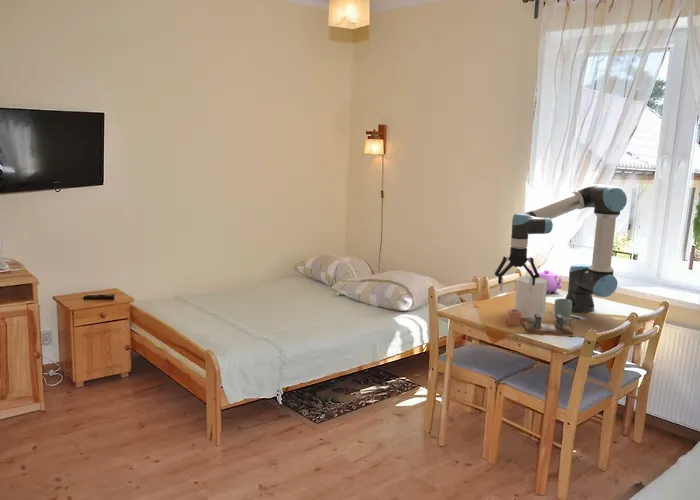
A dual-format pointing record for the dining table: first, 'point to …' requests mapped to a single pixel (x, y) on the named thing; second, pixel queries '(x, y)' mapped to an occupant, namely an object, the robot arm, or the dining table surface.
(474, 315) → the dining table surface
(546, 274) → the teapot
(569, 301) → the cup
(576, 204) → the robot arm
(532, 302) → the container
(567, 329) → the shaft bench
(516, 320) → the joint block
